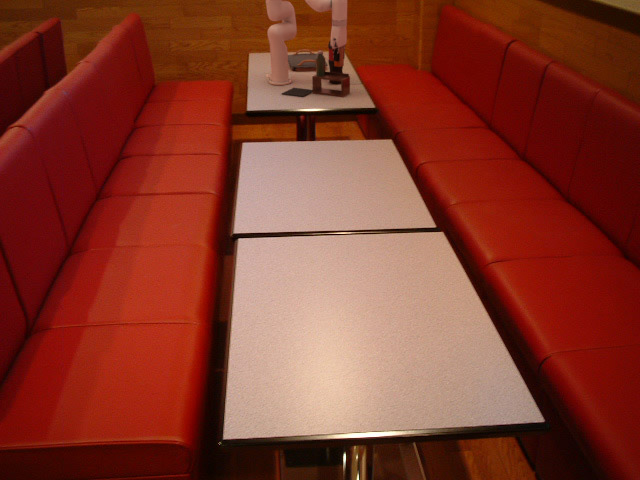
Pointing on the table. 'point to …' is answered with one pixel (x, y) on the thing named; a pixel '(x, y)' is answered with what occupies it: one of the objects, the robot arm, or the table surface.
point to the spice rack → (334, 77)
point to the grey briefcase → (303, 60)
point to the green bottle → (320, 64)
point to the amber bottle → (341, 62)
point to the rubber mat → (298, 92)
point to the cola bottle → (331, 64)
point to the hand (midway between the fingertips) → (339, 59)
